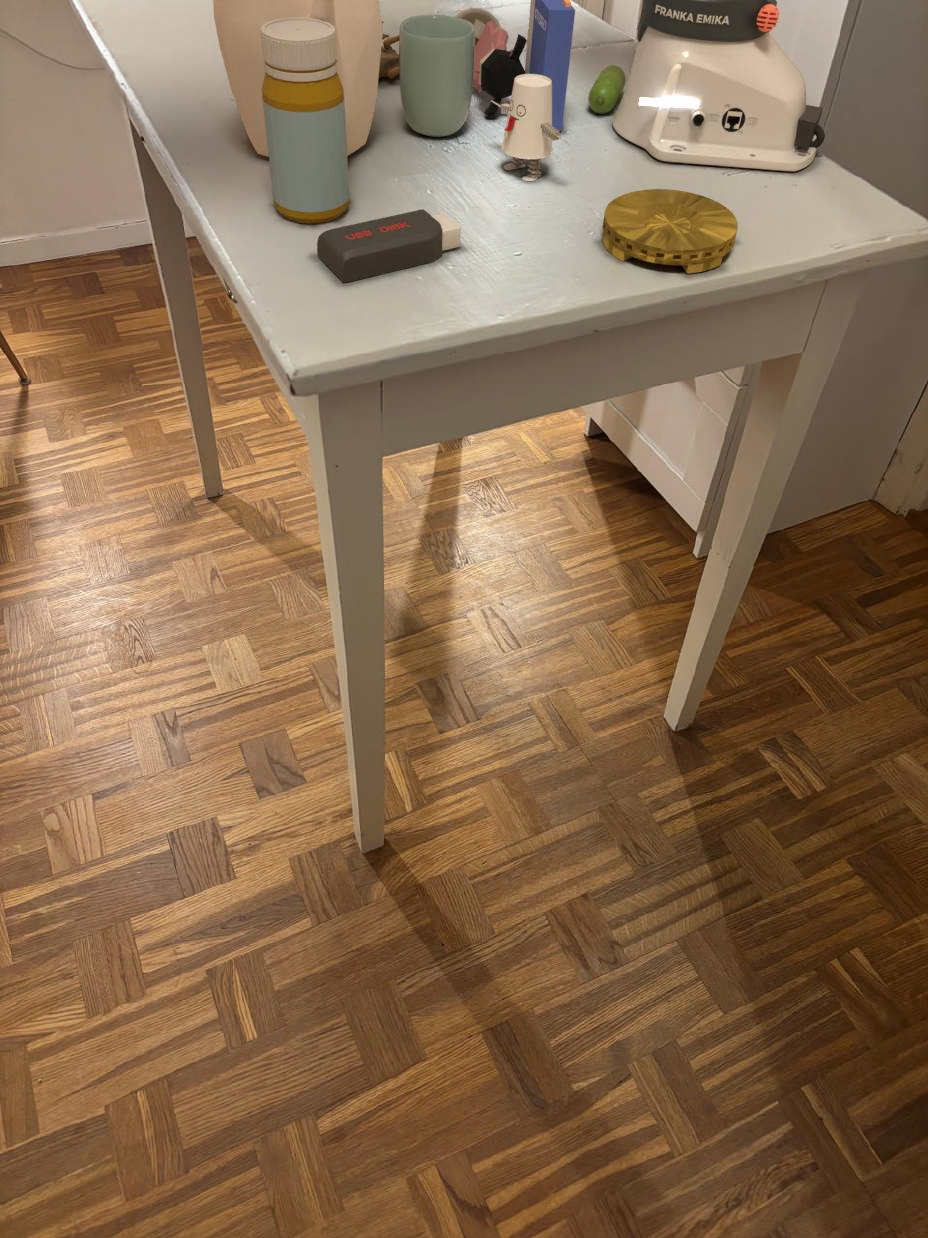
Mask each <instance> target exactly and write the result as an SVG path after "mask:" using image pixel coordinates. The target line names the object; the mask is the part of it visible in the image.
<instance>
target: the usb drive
mask: <svg viewBox="0 0 928 1238" xmlns="http://www.w3.org/2000/svg"><path fill="white" fill-rule="evenodd" d="M461 231H462V229H461V226H459V224H457V223H456V222H455V221H453V220H452V219H451V218H450V217H449V216H448V215H446V214H445V213H444V212H439V213H436V214H430V213H429V212H427V211H426V210H425V209H424V208H422V209H417V210H413V211H409V212H404V213H399V214H395V215H394V214H393V215H389V216H385V217H380V218H375V219H372V220H367V221H362V222H358V223H357V222H356V223H353V224H348V225H344V226H339V227H335V228H331V229H327V230H325V231H323V232H322V233H320V234H319V236H318V237H317V242H316V253H317V258H319V260H320V261H322V262H323V263H324V264H325V265H326V267H327V268H328V269H330V271H331V272H332V273H333V274H334V275H335V276H336V277H337V278H338V279H339V280H340V281H341V282H342V284H343V283H344V284H346V283H351V282H355V281H360V280H363V279H367V278H371V277H376V276H381V275H384V274H388V273H392V272H397V271H400V270H405V269H409V268H412V267H417V266H420V265H425V264H430V263H433V262H435V261H437V260H438V259H440V258H441V257H442V256H443V251H447V250H452V249H457V248H460V247H461V234H462V233H461Z"/></svg>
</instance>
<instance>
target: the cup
mask: <svg viewBox="0 0 928 1238" xmlns="http://www.w3.org/2000/svg"><path fill="white" fill-rule="evenodd" d="M398 29H399V30H398V35H399V41H398V54H399V73H398V75H399V90H400V91H399V92H400V93H399V94H400V101H401V102H400V103H401V107H402V112H403V116H404V119H405V121H406V122H407V125H408V126H409V127H410V128H411V129H412V130H413V131H414V132H416V133H417V134H420V135H423V136H427V137H434V138H436V137H438V138H443V137H448V136H452V135H454V134H456V133H457V132H458V131H460V129H462V127H463V126H464V124H465V122H466V121H467V118H468V115H469V112H470V107H471V104H472V103H471V102H472V95H473V89H474V88H473V87H474V86H473V76H474V57H475V28H474V26H473V24H472V23H470V22H469V21H467V20H464V19H461V18H457V17H455V16H452V15H443V14H442V15H440V14H421V15H420V14H419V15H415V16H410V17H408V18H406V19H404V20H403V21H401V23H400V25H399V28H398Z"/></svg>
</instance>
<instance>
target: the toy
mask: <svg viewBox="0 0 928 1238" xmlns="http://www.w3.org/2000/svg"><path fill="white" fill-rule="evenodd" d="M454 17H457V18H461V19H464V20H467V21H469V22H470V23H472V24H473V26H474V28H475V57H474V76H473V87H474V88H476V89H477V91H478V93H481V91H483V92H484V93H486V94H487V95H489V96H491V100H492V101H494V102H495V103H497V104H499V105H501V103H502V100H504V99H506V98H509V97H511V96H512V90H513V85H514V80H515V77H517V76H519V75H522V74H525V67H524V66H523V63H522V61H521V60H520V58H521V55H522V53H523V51H524V49H525V47H526V45H527V37H525V36H523V35H522V34H520V33H518V34H517V37H516V41H515V44H514V46H513V48H511V49H510V50H507V49H508V47H507V45H508V42H509V34H508V31H507V30H506V29H504V28H503V27H502V26H501V23H500V22H499V20H498V19H497V18H496V17H495V16H494V15H493V14H492V13H491V12H490V11H488V10H486V9H484V8H482V7H469V8H466V9H463V10H461V11H459V13H457V14H456V15H454ZM491 100H490V103H489V105H488V107H487V108H486V109H485V110H484V112H483V114H484V115H485V116H486V117H488V118H490V119H494V117H495V116H496V115H497V113H498V111H499V108H500V107H499V106H498V105H496V104H494V103H493V102H492V101H491Z"/></svg>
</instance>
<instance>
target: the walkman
mask: <svg viewBox="0 0 928 1238" xmlns="http://www.w3.org/2000/svg"><path fill="white" fill-rule="evenodd" d="M529 4H530V5H529V17H528V28H527V37H526V40H527V42H526V51H525V62H524V63H525V64H524V70H525V74H538V75H543V76H546V77H548V78H550V79H551V80H552V126H553V127H554V128H555V129H556V130H557V131H563V124H564V117H565V108H566V98H567V97H566V96H567V90H568V89H567V88H568V80H569V79H568V78H569V72H570V62H571V51H572V43H573V34H574V25H575V16H576V9H575V7H574V6H573V5H572V1H570V0H530V3H529Z"/></svg>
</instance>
